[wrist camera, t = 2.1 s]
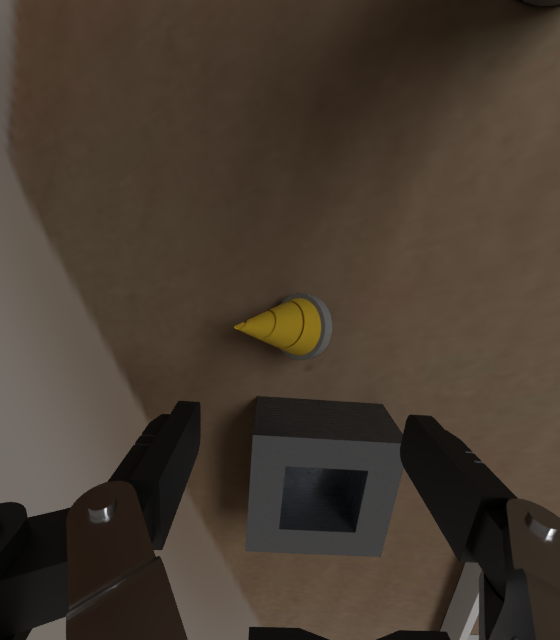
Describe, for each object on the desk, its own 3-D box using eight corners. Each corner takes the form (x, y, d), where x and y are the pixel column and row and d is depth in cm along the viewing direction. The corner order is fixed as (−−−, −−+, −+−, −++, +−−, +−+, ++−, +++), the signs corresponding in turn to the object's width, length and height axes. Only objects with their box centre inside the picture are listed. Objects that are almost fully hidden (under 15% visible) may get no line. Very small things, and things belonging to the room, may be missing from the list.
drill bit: (305, 359, 26) (215, 373, 18) (297, 305, 26) (207, 297, 19) (356, 351, 22) (269, 365, 15) (344, 289, 23) (256, 273, 16)
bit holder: (257, 396, 26) (252, 435, 21) (382, 404, 27) (409, 444, 21) (250, 496, 29) (245, 551, 24) (362, 501, 30) (380, 556, 25)
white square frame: (475, 535, 32) (492, 559, 29) (612, 541, 32) (640, 566, 30) (437, 638, 37) (448, 666, 34) (556, 642, 37) (575, 669, 35)
